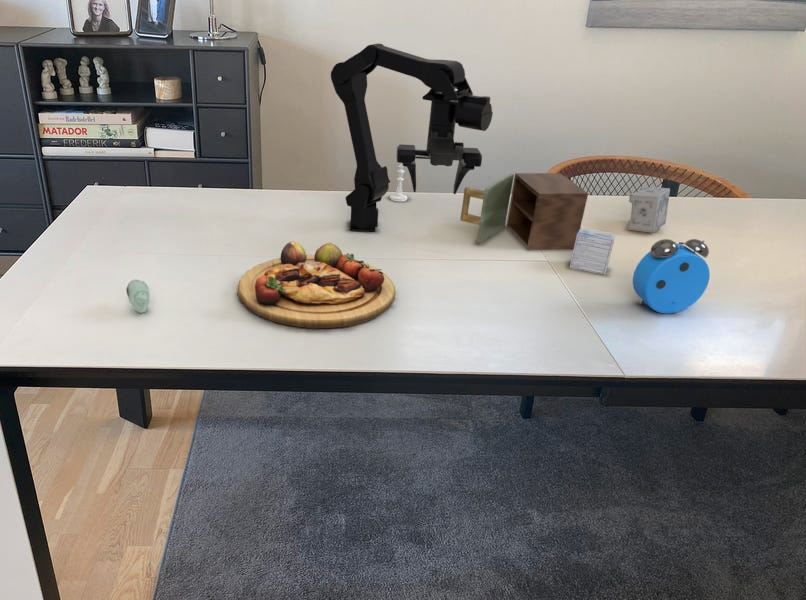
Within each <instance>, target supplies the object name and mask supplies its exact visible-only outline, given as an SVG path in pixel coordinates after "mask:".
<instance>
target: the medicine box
mask: <svg viewBox="0 0 806 600" xmlns="http://www.w3.org/2000/svg"><path fill="white" fill-rule="evenodd" d="M615 238H616V233H615V232H610V231H605V230H600V229H594V228H588V227H583V226H581V227H580V229H579V231H578V233H577V237H576V242H575V246H574V249H572V250H573V251H572V255H571V259H570V263H569V269H574V270H578V271H585V272H590V273H595V274H599V275H606V273H607V269H608V267H609V266H608V265H609V263H610V258H611V254H612V250H613V247H614V243H615Z"/></svg>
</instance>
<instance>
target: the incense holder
mask: <svg viewBox="0 0 806 600" xmlns="http://www.w3.org/2000/svg"><path fill="white" fill-rule="evenodd" d="M670 192H671V189H670V187H657V186H655V187H654V186H653V187H652V186H641V187H640V190H639V191H637V192H631V193H629V197H628V202H629V203H631V212H630V219H629V220H628V222H627V230H628V231H637V232H644V233H655V232H657V233H658V231H659V230H660V228H661V227H663V226H664V225H665V224H666V221H667V216H668V215H667V214H668V207H669V201H670V194H671V193H670Z"/></svg>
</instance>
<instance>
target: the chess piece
mask: <svg viewBox="0 0 806 600" xmlns="http://www.w3.org/2000/svg"><path fill="white" fill-rule="evenodd" d="M398 168H399V169H397V175H398V177H397V178H396V181H397V187H396V191H395V192H394V193H392V194H390V196H389V200H391V201H393V202H399V203H400V202H406V201H408V196H407V195H406V194H404V192H403V181H405V178H404V177H403V176H404V174H405V172H406V171H405V169H404V168H406V167H405V166H403V165H402V163H400V165H399V164H398Z"/></svg>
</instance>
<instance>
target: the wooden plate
mask: <svg viewBox="0 0 806 600" xmlns="http://www.w3.org/2000/svg"><path fill="white" fill-rule="evenodd" d="M237 294H238V297H239V299H240V302H242V304H243V305H244V306H245V307H246V308H247V309H248V310H249V311H250V312H252V313H254V314H255V315H257V316H259V317H261V318H263V319H266V320H268V321H271V322H274V323H278V324H282V325H286V326H291V327H297V328H309V329H332V328H344V327H349V326H353V325H358V324H362V323H365V322H368V321H370V320H372V319H375V318H376V317H379V316H380V315H382V314H383V313H385V312H386V311H387V310H388V309H389V308H390V307H391V306H392V305H393V303H394V302H395V301H394V300H395V298H396V287H395V284H394V282H393V281H392V279H391V277H389V276H388V275H387V274H386V273H385V272H383V270H382V269H381V268H377V267H375V266H373V265H372V264H369V263H368V262H367V263H366V262H365V261H364V260H358V259H355V254H354V253H349V252H346V254H345V253H344V254H343V252H342V250H341V249H340V247H338V246H337V245H336V244H334V243H332V242H326V243H324V244H322V245H320V246H319V247H318V248H317V249H316V250H315V252H314V254H307V252H306V250H305V248H304V247H303V246H302V245H301V244H300V243H299V242H296V241H294V240H292V241H289V242H287V243H286V244H285V245H284V246H283V247H282V249H281V252H280V257H278V258H274V259H269V260H266V261H264V262H261V263H259V264H256V265H255V266H253V267H252V268H250V269H249V270H247V271H246V272H245V273H244V274H243V275H242V277H240V280H239V282H238V285H237Z"/></svg>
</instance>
